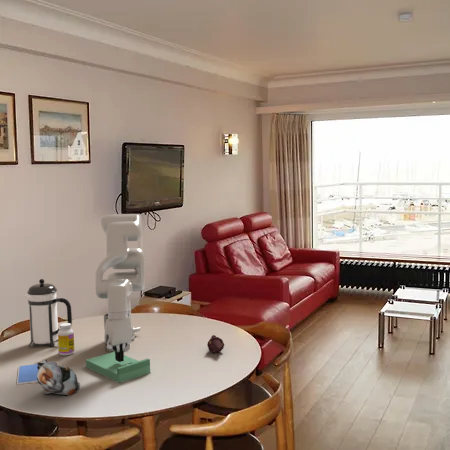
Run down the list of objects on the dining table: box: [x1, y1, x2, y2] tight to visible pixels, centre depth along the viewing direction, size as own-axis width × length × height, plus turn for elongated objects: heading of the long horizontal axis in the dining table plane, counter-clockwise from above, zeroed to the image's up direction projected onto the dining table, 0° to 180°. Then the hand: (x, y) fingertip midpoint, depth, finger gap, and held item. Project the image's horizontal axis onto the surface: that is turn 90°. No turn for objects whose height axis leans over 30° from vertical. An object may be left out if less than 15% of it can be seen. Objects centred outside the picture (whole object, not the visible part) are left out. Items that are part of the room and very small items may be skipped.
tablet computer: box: [16, 363, 38, 386], centre depth 219 cm, size 19×13×1 cm, turn 18°
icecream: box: [206, 334, 225, 354], centre depth 240 cm, size 7×7×15 cm
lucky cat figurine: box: [36, 359, 81, 396], centre depth 199 cm, size 15×12×14 cm
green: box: [85, 351, 151, 384], centre depth 221 cm, size 14×24×5 cm, turn 44°
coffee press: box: [25, 278, 73, 349], centre depth 255 cm, size 17×16×30 cm
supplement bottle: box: [57, 322, 75, 356], centre depth 241 cm, size 7×7×13 cm
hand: (119, 360), depth 220 cm, fingers closed
